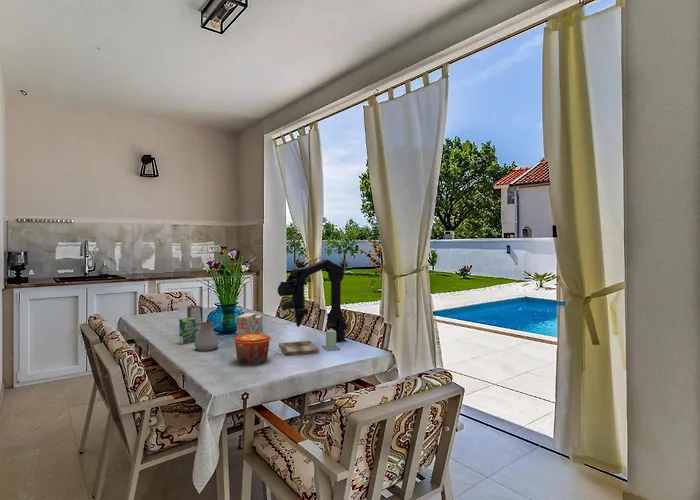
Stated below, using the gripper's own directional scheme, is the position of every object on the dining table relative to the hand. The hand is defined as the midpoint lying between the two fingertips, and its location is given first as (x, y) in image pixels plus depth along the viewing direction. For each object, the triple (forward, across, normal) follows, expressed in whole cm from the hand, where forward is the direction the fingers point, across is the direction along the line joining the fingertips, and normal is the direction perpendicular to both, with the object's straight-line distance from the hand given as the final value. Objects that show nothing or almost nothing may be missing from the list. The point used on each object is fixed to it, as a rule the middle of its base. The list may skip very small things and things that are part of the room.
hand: (298, 326), depth 208 cm
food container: (+12, +11, -23) cm, 28 cm away
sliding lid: (+10, +4, 0) cm, 11 cm away
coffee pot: (+12, -18, -38) cm, 43 cm away
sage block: (+11, +2, +16) cm, 20 cm away
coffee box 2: (+12, -32, -52) cm, 62 cm away
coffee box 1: (+12, -49, -49) cm, 70 cm away
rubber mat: (+11, +1, +16) cm, 20 cm away
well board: (+12, -1, 0) cm, 12 cm away
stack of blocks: (+12, -40, -19) cm, 46 cm away
